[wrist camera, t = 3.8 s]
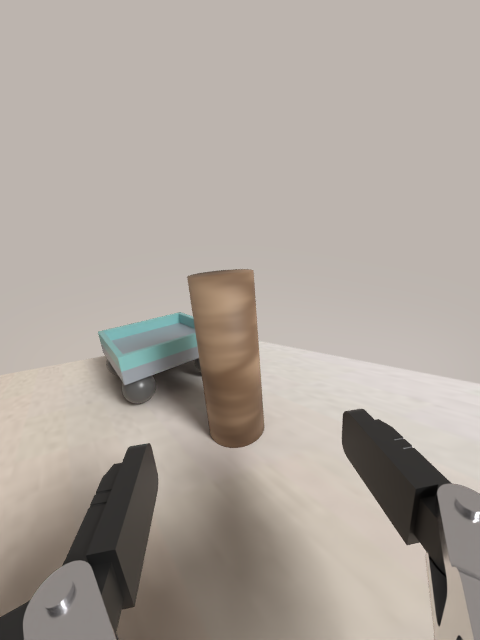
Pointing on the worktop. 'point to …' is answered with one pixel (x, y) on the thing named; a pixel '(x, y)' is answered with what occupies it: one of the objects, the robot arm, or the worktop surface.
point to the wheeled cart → (149, 351)
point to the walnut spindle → (228, 354)
